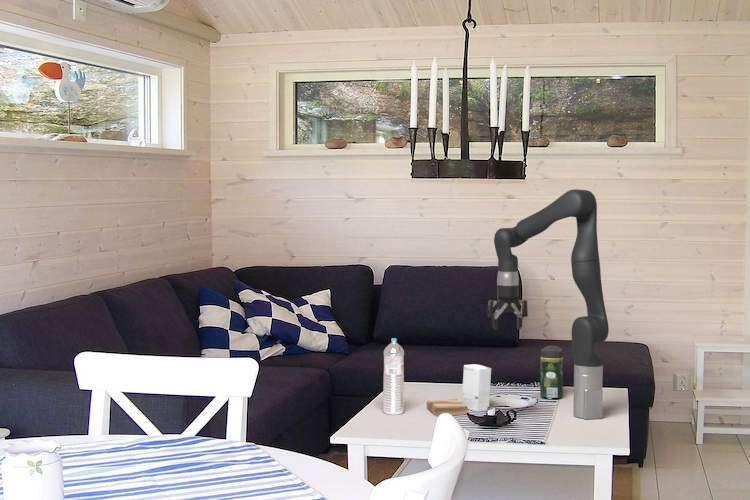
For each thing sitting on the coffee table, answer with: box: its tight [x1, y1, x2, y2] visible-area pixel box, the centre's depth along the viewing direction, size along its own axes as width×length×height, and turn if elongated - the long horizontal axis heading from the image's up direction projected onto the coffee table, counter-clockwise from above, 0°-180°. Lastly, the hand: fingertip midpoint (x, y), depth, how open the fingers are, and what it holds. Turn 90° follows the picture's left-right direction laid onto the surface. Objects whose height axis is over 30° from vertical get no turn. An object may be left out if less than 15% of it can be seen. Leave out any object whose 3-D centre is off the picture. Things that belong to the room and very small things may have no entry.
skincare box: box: [461, 363, 492, 413], centre depth 319 cm, size 8×6×15 cm
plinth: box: [426, 398, 469, 417], centre depth 315 cm, size 11×11×3 cm
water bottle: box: [382, 337, 405, 416], centre depth 313 cm, size 7×7×25 cm
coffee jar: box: [539, 345, 564, 399], centre depth 339 cm, size 10×8×19 cm
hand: (507, 329), depth 335 cm, fingers open, 8 cm apart
